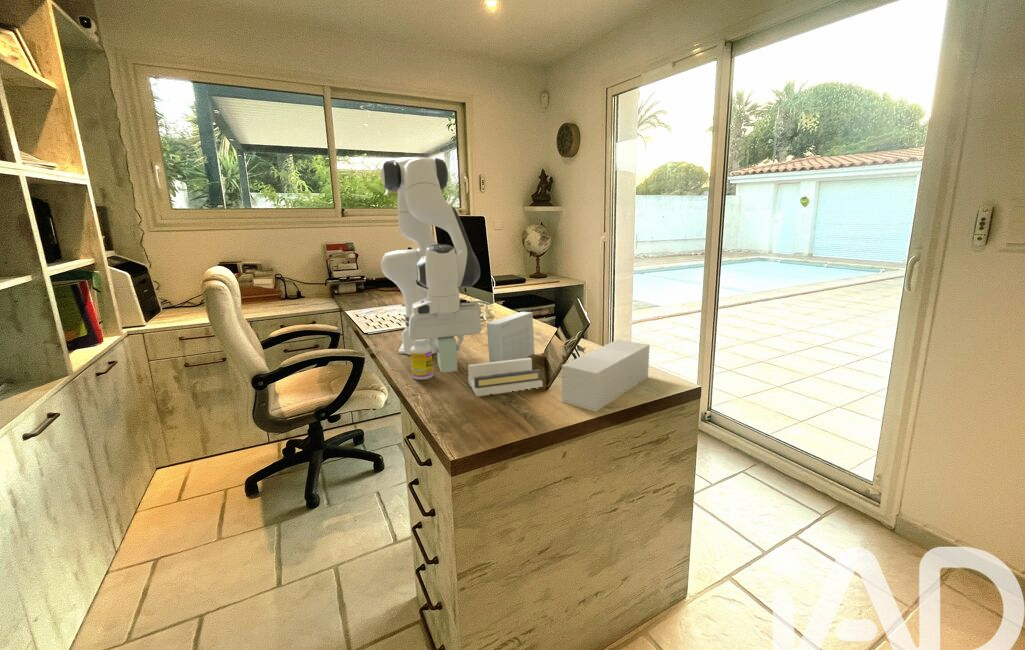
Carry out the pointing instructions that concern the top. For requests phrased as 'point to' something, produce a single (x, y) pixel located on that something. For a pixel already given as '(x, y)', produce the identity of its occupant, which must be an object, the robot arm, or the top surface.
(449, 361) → the product box
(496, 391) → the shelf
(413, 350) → the supplement bottle
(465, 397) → the top surface
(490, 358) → the skincare box
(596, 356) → the stack of papers
